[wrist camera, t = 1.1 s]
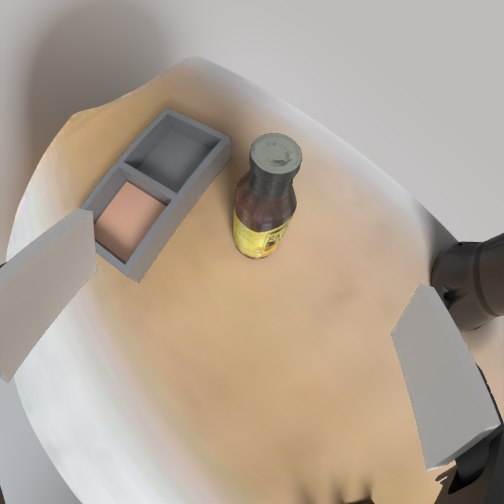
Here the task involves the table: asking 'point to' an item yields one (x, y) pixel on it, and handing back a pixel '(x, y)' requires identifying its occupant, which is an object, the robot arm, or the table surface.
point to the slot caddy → (154, 189)
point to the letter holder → (368, 502)
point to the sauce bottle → (266, 195)
